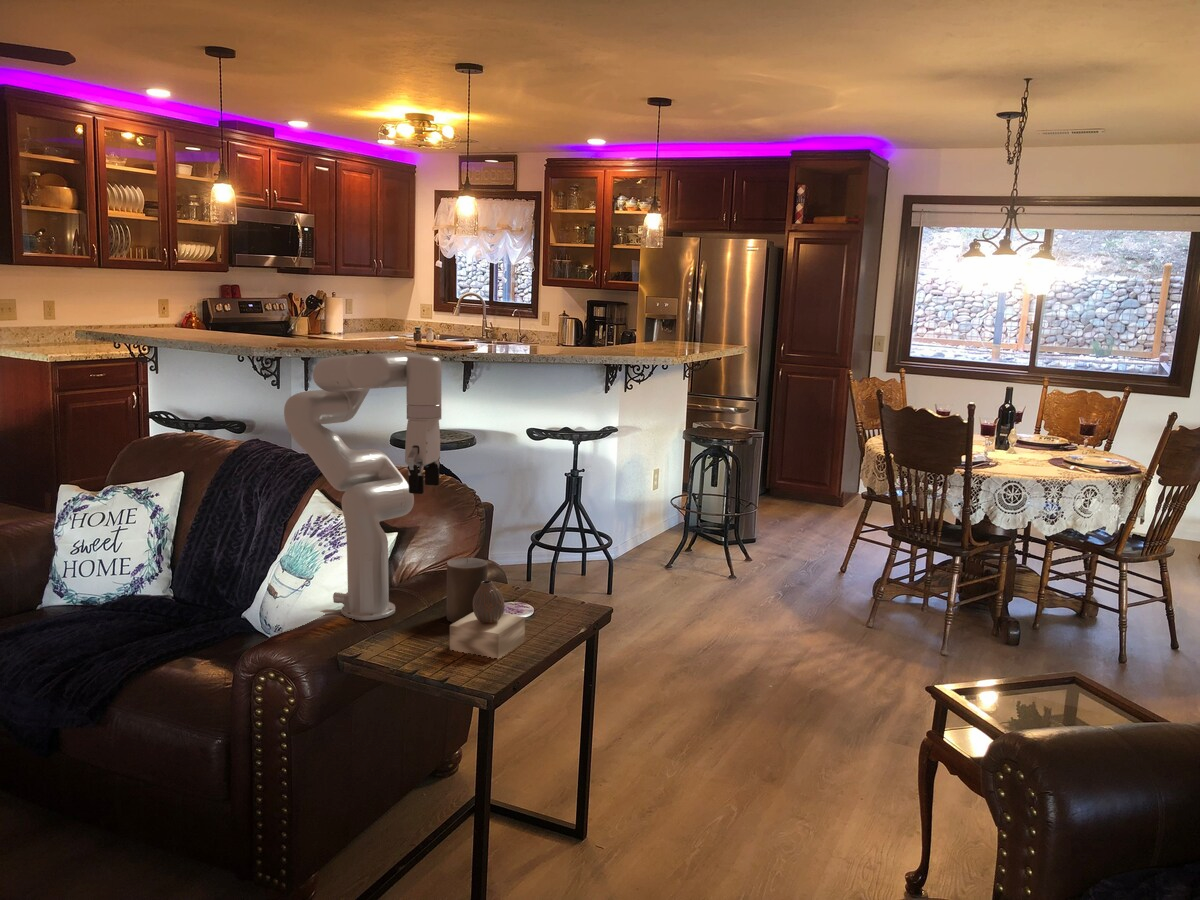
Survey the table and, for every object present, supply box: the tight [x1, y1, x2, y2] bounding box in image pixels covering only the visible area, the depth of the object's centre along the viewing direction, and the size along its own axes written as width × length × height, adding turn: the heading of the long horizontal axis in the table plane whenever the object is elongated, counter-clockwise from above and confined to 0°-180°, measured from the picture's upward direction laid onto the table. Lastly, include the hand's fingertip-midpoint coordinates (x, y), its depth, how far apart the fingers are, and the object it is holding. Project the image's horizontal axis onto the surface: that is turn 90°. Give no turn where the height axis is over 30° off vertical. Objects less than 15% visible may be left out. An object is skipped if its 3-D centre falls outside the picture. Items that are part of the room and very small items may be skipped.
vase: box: [473, 579, 505, 623], centre depth 208 cm, size 7×7×9 cm
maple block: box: [449, 612, 526, 660], centre depth 209 cm, size 12×12×6 cm
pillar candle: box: [445, 557, 489, 624], centre depth 226 cm, size 10×10×15 cm
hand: (424, 489), depth 211 cm, fingers open, 9 cm apart
